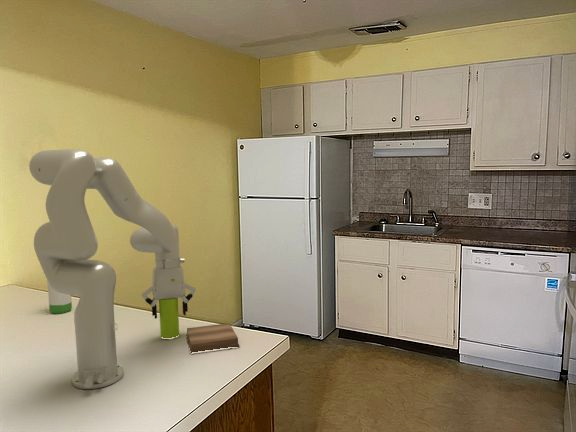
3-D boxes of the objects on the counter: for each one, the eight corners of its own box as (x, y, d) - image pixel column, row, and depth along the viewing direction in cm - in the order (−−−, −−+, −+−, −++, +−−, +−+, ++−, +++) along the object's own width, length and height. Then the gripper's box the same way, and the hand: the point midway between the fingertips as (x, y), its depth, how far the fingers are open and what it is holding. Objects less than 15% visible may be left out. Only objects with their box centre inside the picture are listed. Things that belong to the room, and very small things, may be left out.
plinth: (239, 347, 136) (239, 338, 136) (190, 354, 132) (190, 344, 132) (230, 331, 150) (230, 322, 150) (186, 336, 146) (185, 328, 145)
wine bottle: (52, 309, 176) (46, 234, 173) (73, 307, 178) (68, 233, 175) (47, 315, 169) (41, 237, 165) (70, 313, 171) (65, 235, 168)
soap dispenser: (170, 342, 141) (167, 280, 139) (157, 337, 146) (154, 277, 143) (185, 336, 146) (182, 276, 144) (171, 331, 150) (169, 273, 148)
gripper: (194, 258, 149) (196, 309, 151) (139, 263, 144) (142, 315, 146) (196, 263, 142) (198, 316, 144) (139, 268, 137) (142, 322, 139)
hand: (170, 315), depth 145 cm, fingers open, 8 cm apart
